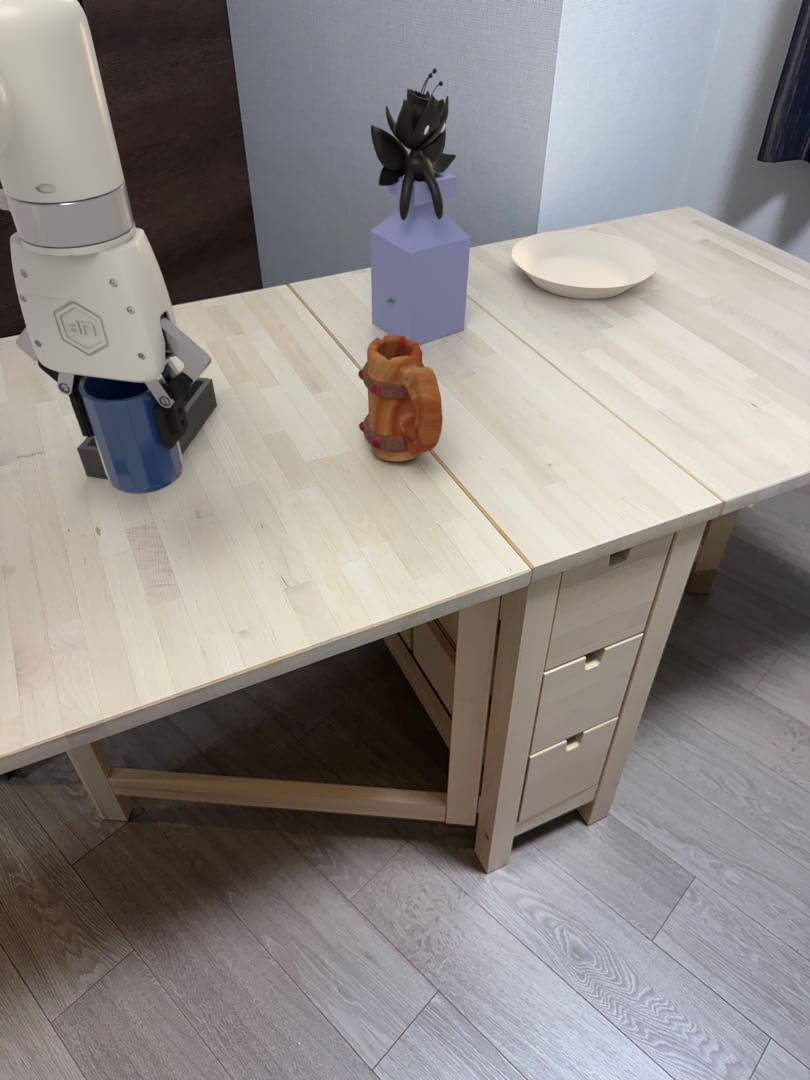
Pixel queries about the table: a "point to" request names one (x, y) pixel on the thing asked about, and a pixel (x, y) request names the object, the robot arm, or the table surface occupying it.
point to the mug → (400, 400)
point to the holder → (197, 409)
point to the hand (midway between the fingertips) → (135, 432)
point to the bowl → (583, 263)
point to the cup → (129, 435)
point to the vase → (418, 227)
